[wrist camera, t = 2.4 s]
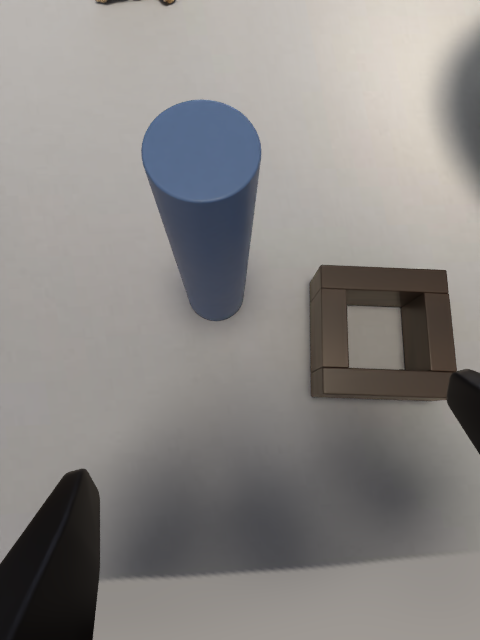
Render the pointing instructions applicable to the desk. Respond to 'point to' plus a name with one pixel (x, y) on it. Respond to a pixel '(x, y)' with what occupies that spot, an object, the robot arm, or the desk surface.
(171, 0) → the artifact
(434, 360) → the frame
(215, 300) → the blue tall cylinder
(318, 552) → the desk surface
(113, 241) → the desk surface
